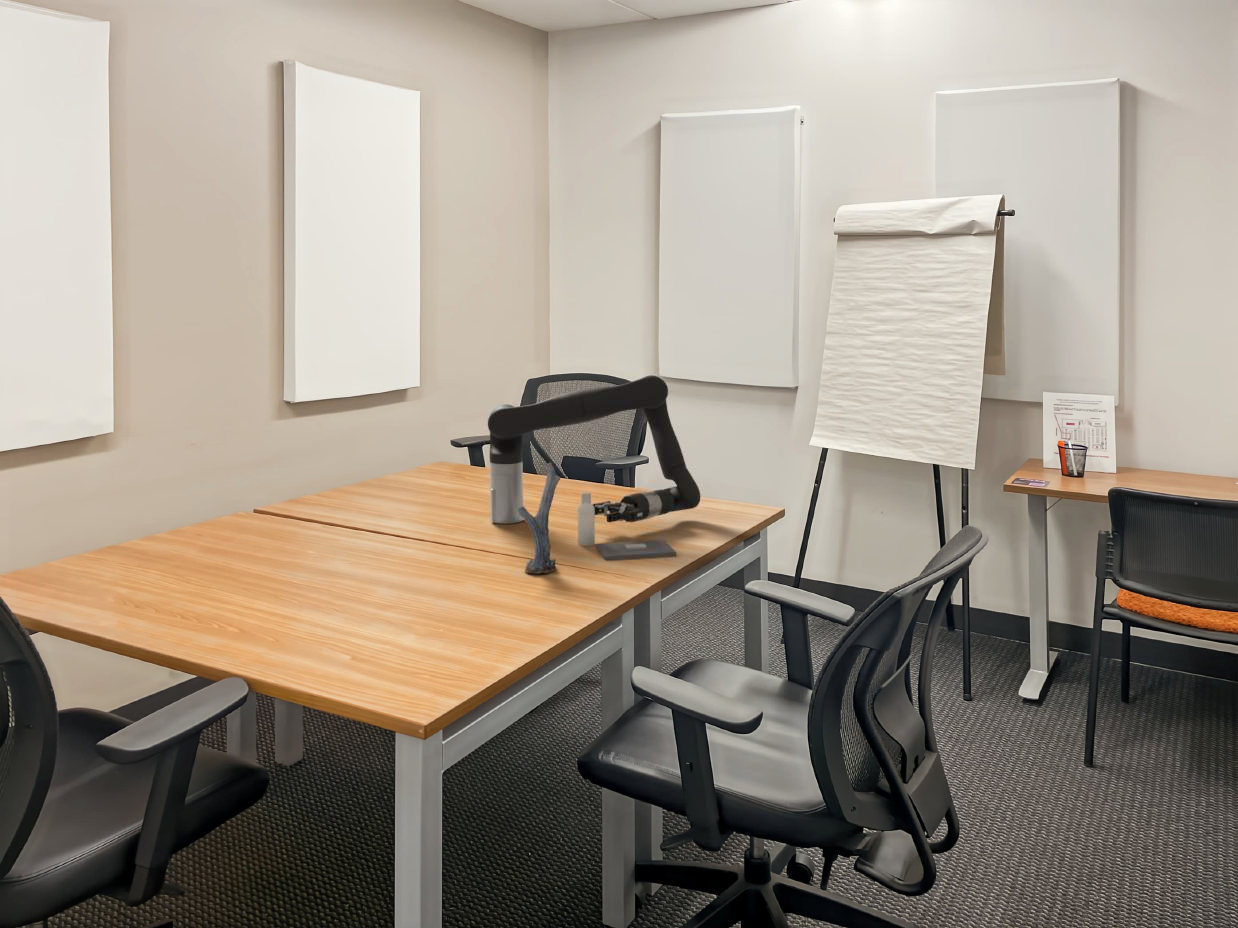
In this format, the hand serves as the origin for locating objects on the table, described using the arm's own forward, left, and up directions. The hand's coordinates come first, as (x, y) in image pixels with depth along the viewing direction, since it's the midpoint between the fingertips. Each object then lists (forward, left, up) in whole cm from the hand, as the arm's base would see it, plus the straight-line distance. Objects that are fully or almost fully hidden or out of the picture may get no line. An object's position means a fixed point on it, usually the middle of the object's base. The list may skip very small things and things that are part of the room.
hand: (596, 515), depth 254 cm
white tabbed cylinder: (-3, -2, -7) cm, 8 cm away
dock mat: (+8, -12, -7) cm, 16 cm away
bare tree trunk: (-17, -22, -7) cm, 29 cm away
